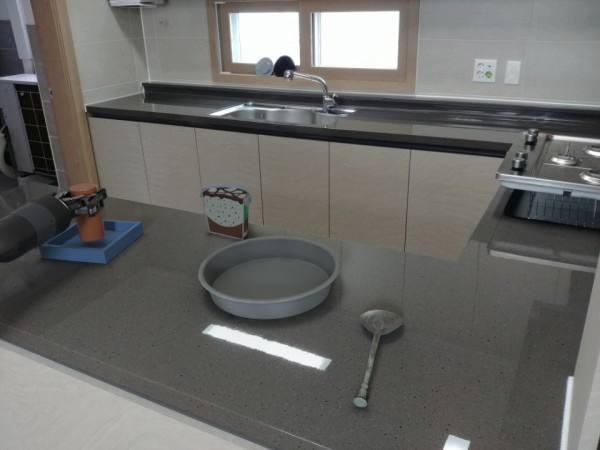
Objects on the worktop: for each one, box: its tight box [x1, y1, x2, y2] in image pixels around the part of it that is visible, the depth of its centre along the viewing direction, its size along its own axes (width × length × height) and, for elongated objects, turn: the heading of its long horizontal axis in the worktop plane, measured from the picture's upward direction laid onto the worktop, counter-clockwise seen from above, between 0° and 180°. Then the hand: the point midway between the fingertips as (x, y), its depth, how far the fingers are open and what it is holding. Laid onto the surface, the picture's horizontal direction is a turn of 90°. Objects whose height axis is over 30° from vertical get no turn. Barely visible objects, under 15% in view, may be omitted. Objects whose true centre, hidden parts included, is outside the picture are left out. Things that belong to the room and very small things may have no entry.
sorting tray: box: [38, 218, 144, 265], centre depth 113 cm, size 15×15×3 cm
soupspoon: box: [352, 309, 404, 408], centre depth 76 cm, size 22×3×7 cm
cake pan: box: [197, 235, 341, 320], centre depth 94 cm, size 25×25×4 cm
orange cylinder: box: [68, 182, 106, 241], centre depth 111 cm, size 5×5×11 cm
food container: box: [199, 183, 253, 241], centre depth 116 cm, size 12×6×10 cm, turn 59°
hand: (92, 191), depth 111 cm, fingers closed on orange cylinder, 5 cm apart
